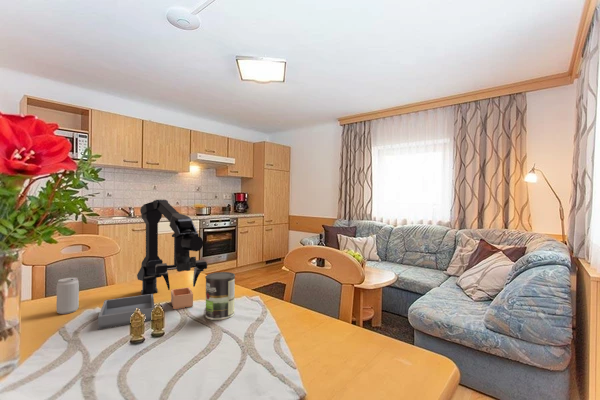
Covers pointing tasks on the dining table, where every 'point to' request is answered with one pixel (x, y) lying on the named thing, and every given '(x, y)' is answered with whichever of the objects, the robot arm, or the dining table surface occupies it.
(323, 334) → the dining table surface
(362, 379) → the dining table surface
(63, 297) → the beverage can
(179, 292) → the small crate
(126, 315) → the big crate
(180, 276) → the dining table surface
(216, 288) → the coffee can
